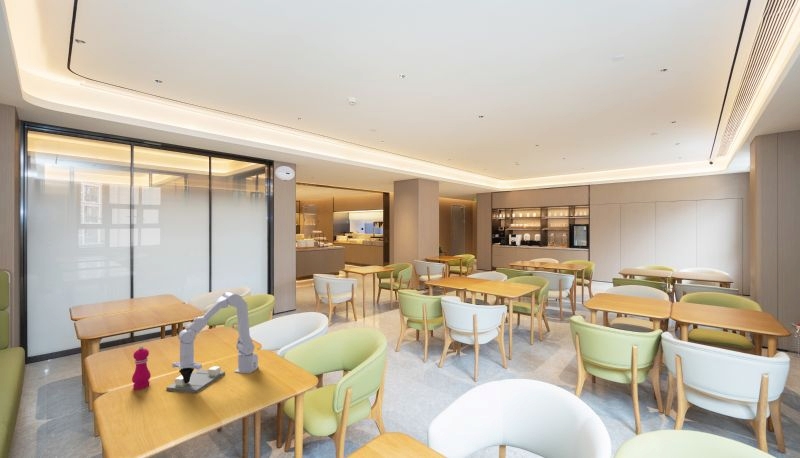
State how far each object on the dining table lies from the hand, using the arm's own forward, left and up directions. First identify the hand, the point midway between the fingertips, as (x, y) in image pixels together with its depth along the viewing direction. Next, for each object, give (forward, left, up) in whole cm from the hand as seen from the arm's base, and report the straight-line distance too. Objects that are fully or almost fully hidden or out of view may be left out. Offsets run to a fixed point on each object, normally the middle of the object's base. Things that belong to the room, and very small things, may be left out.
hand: (187, 382), depth 162 cm
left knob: (+3, 0, -1) cm, 3 cm away
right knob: (-5, -12, -1) cm, 13 cm away
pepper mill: (+23, +3, -3) cm, 23 cm away
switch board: (0, -6, -2) cm, 7 cm away
